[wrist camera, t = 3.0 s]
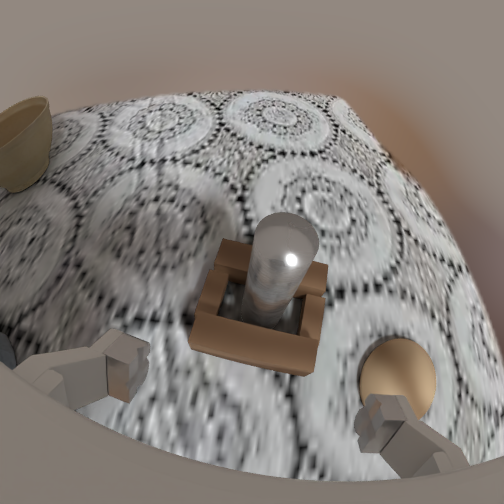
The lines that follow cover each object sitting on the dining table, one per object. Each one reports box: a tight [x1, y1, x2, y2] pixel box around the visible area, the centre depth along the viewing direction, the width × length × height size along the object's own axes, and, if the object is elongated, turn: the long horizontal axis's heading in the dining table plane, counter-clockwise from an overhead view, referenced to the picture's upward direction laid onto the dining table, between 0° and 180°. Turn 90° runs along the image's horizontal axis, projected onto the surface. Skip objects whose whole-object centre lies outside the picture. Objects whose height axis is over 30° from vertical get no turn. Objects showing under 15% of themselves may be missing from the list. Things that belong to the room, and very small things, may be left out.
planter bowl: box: [0, 96, 52, 193], centre depth 32 cm, size 16×16×11 cm
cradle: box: [188, 238, 328, 377], centre depth 27 cm, size 11×12×3 cm
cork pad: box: [359, 339, 436, 420], centre depth 25 cm, size 10×10×1 cm
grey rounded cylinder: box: [241, 212, 319, 329], centre depth 23 cm, size 4×4×13 cm
